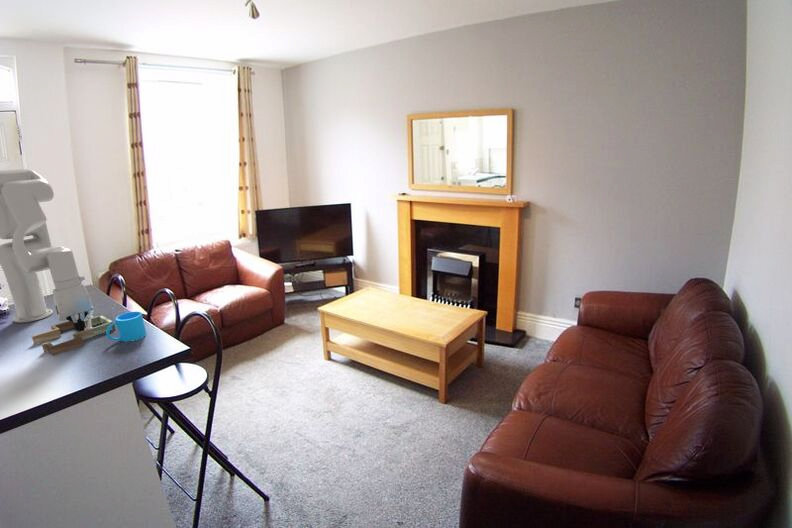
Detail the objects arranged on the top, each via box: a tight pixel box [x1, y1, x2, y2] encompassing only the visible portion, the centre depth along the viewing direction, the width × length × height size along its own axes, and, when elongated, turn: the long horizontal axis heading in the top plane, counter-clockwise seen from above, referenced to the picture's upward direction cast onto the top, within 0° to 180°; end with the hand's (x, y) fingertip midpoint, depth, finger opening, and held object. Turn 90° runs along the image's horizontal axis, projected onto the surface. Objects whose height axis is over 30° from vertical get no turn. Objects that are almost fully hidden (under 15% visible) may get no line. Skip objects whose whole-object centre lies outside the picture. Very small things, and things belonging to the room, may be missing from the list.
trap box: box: [31, 314, 116, 356], centre depth 160 cm, size 22×22×3 cm
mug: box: [105, 311, 147, 342], centre depth 156 cm, size 12×8×8 cm
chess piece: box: [84, 306, 95, 330], centre depth 163 cm, size 5×5×10 cm
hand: (81, 330), depth 161 cm, fingers closed
